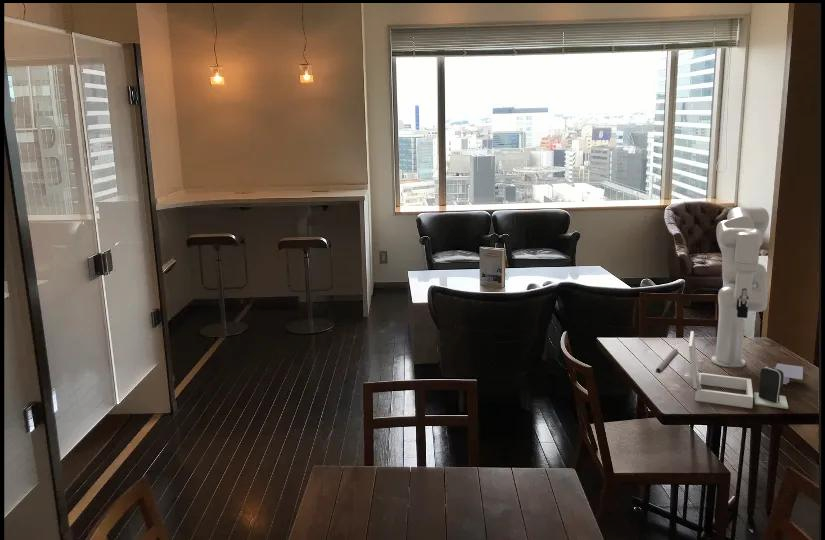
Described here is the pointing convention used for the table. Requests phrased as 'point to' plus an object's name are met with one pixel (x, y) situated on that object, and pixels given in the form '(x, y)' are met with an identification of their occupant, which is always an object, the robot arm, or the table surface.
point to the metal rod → (666, 360)
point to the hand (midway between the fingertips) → (741, 313)
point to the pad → (764, 402)
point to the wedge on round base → (790, 372)
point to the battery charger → (770, 383)
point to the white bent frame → (718, 384)
